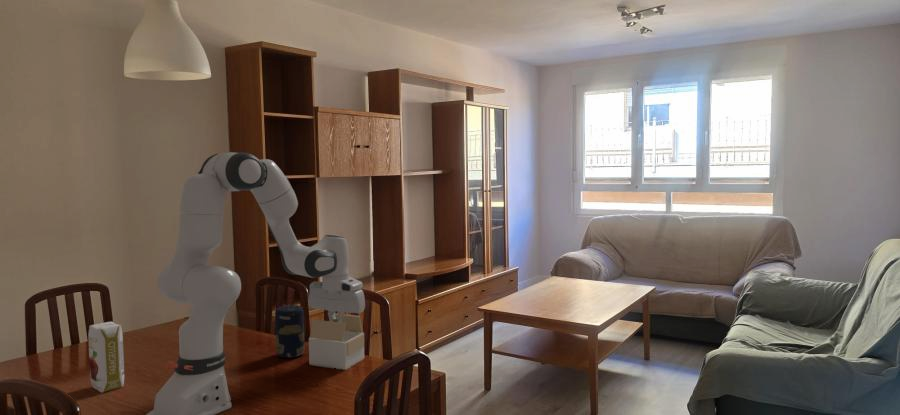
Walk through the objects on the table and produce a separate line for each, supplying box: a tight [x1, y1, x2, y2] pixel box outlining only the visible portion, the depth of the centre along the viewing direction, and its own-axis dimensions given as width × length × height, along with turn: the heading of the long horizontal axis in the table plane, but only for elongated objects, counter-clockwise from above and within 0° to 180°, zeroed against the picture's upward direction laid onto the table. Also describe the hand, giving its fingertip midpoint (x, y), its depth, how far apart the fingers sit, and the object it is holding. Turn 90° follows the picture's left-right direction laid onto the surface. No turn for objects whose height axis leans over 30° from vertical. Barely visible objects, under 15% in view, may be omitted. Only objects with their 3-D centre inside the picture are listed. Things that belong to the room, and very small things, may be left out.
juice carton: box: [87, 321, 125, 393], centre depth 173 cm, size 8×9×19 cm
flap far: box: [327, 312, 363, 333], centre depth 200 cm, size 6×12×1 cm
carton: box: [308, 330, 365, 371], centre depth 195 cm, size 12×15×9 cm
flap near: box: [309, 319, 346, 342], centre depth 190 cm, size 6×12×1 cm
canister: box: [274, 304, 306, 359], centre depth 202 cm, size 10×10×18 cm
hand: (336, 323), depth 195 cm, fingers closed
